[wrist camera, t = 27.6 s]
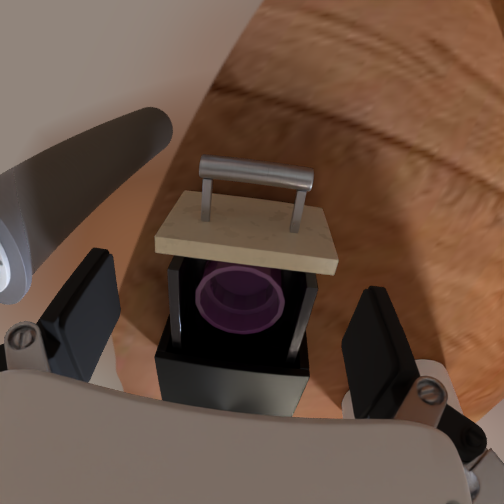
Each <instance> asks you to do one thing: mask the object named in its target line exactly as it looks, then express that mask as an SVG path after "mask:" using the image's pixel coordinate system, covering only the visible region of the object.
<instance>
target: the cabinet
mask: <svg viewBox="0 0 504 504" xmlns="http://www.w3.org/2000/svg"><path fill="white" fill-rule="evenodd" d="M155 363H156V369H157V375H158V381H159V386H160V391H161V396H162V401H167V402H173V403H178V404H184V405H190V406H196V407H202V408H209V409H216V410H223V411H231V412H239V413H248V414H259V415H270V416H283V417H292V416H293V413H294V411H295V409H296V407H297V405H298V402H299V400H300V398H301V396H302V393H303V391H304V389H305V387H306V384H307V382H308V380H309V377H310V372H309V359H308V348H307V337H306V330H305V333H304V336H303V339H302V342H301V345H300V348H299V351H298V354H297V357H296V360H295V363H294V366H293V368H282V367H271V366H261V365H252V364H243V363H235V362H227V361H220V360H213V359H206V358H199V357H193V356H187V355H181V354H175V353H173V347H172V335H171V322H170V314H169V317H168V319H167V322H166V325H165V328H164V331H163V333H162V336H161V339H160V342H159V345H158V348H157V351H156V354H155Z"/></svg>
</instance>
